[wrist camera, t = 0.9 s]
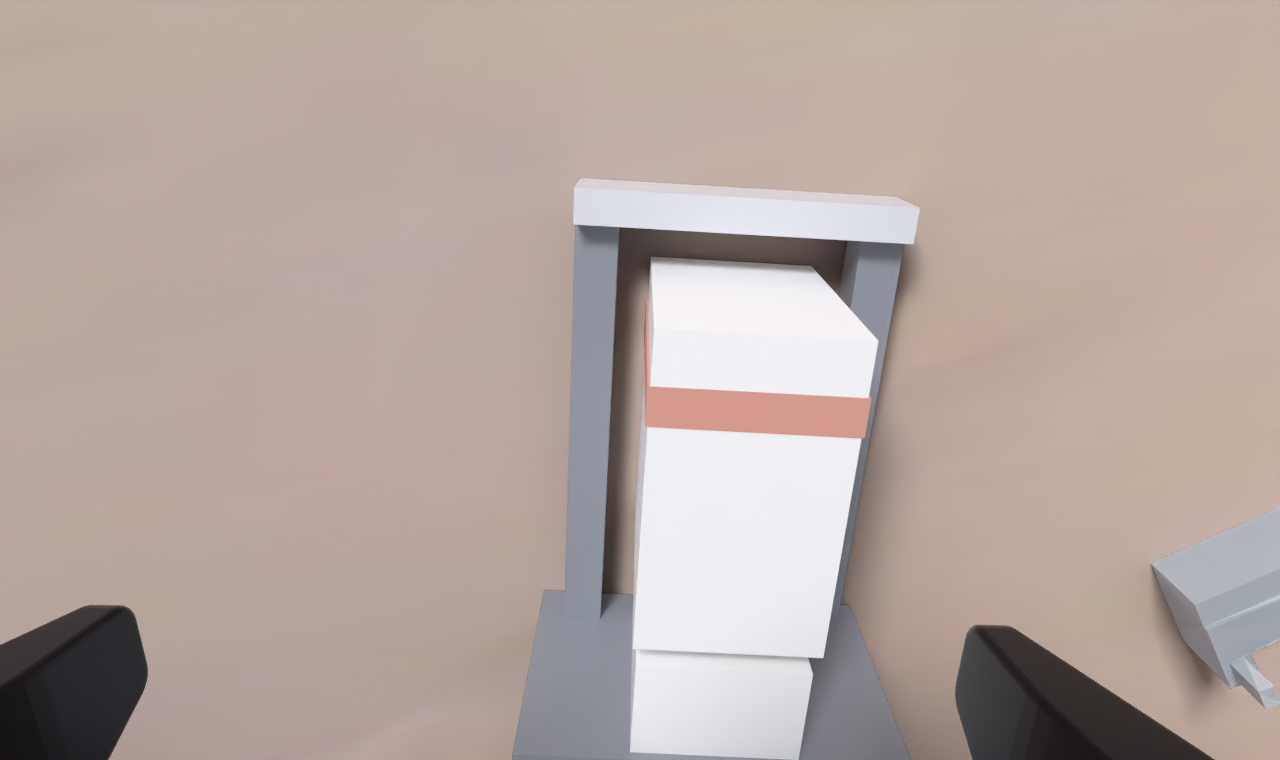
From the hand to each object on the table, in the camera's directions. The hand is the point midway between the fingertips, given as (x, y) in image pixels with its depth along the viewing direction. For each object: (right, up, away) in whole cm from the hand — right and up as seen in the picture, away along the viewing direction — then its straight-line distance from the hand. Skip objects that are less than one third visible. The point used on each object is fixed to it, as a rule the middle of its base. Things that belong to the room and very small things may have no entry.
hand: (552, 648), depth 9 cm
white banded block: (+3, +3, +12) cm, 13 cm away
